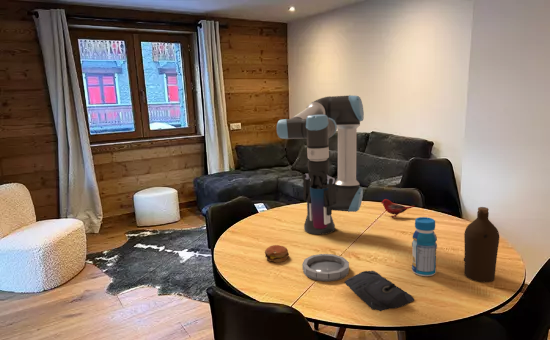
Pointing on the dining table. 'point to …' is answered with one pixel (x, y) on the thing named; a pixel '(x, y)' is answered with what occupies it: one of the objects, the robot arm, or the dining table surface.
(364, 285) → the dark slate chunk
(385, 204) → the decorative bird figurine
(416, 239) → the beverage bottle
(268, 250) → the burger
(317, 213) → the cup
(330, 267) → the tray
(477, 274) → the olive oil
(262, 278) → the dining table surface
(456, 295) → the dining table surface
